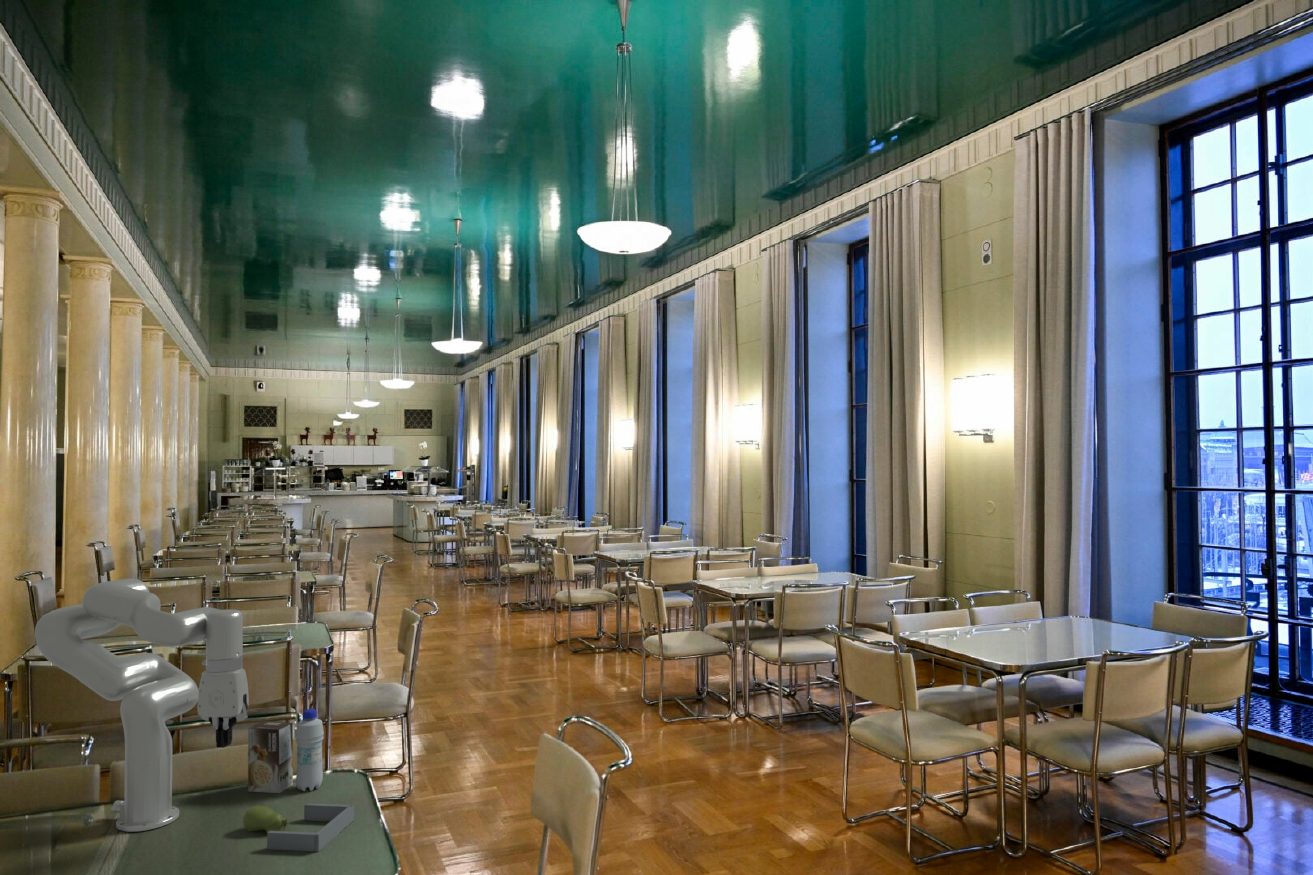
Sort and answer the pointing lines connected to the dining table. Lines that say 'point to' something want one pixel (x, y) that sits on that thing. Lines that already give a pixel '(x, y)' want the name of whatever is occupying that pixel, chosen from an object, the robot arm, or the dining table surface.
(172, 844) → the dining table surface
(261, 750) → the coffee box
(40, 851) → the dining table surface
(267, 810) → the pear
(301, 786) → the bottle
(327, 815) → the box
